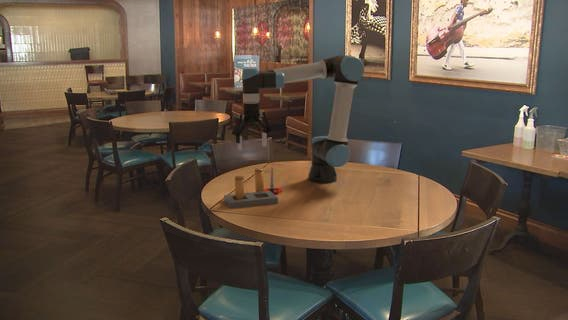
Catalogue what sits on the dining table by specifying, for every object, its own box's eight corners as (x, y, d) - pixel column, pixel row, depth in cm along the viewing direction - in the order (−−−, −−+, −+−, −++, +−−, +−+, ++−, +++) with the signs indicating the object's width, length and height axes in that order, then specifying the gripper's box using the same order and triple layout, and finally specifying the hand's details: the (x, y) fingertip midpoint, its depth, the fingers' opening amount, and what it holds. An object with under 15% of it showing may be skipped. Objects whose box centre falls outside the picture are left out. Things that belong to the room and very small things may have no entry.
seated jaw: (243, 201, 222) (242, 175, 219) (245, 203, 218) (244, 177, 215) (234, 202, 220) (233, 176, 218) (236, 204, 217) (235, 178, 214)
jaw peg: (262, 192, 236) (261, 167, 233) (264, 194, 232) (264, 169, 229) (254, 192, 235) (253, 168, 232) (256, 195, 231) (255, 170, 228)
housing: (270, 195, 230) (270, 190, 229) (278, 203, 219) (278, 197, 218) (224, 200, 223) (223, 195, 222) (229, 208, 212) (229, 202, 211)
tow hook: (265, 189, 242) (262, 194, 233) (265, 164, 240) (262, 167, 231) (282, 190, 241) (280, 194, 232) (282, 164, 239) (280, 168, 230)
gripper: (269, 100, 233) (269, 143, 238) (223, 103, 219) (225, 150, 224) (278, 101, 227) (278, 146, 232) (231, 105, 213) (233, 152, 218)
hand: (252, 148), depth 228 cm, fingers open, 13 cm apart
